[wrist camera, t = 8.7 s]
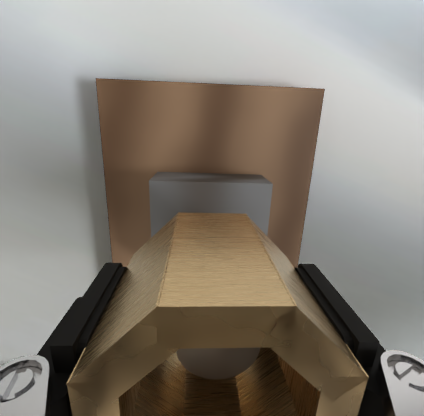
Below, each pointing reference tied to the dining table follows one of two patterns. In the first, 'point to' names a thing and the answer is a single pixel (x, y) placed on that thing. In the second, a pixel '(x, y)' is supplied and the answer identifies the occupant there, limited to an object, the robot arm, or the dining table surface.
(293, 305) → the hub
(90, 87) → the dining table surface
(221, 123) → the shaft stand
